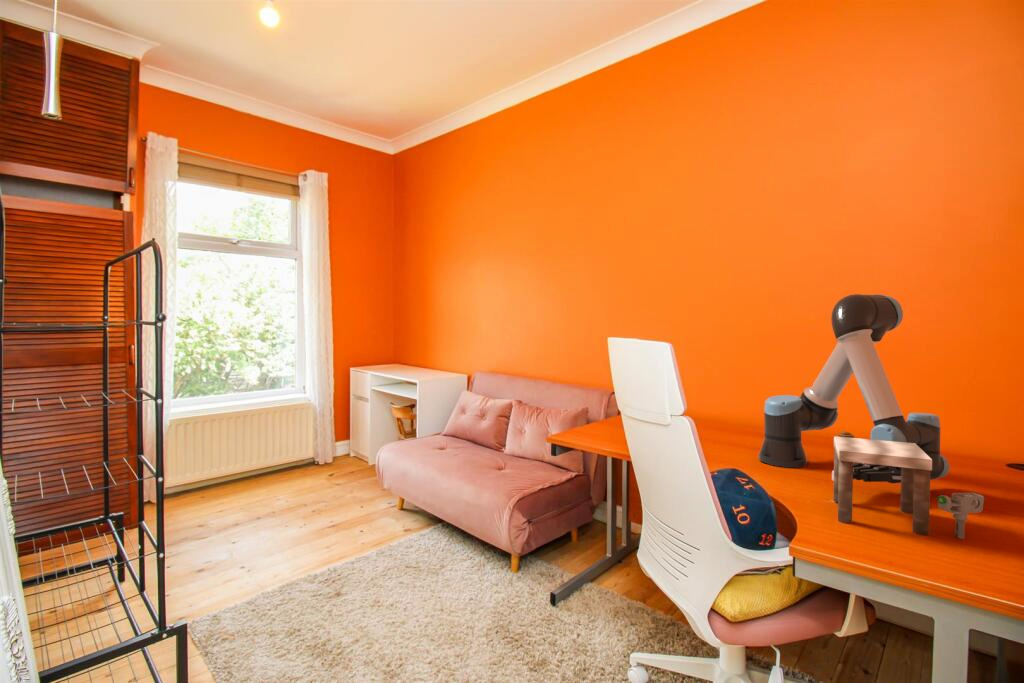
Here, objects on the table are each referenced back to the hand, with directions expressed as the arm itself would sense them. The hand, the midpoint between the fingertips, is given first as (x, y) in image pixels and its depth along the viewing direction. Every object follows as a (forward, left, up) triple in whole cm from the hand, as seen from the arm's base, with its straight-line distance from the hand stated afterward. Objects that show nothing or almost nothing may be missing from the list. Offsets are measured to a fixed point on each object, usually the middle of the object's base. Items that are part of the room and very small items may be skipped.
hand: (834, 476), depth 140 cm
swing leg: (+5, -1, -6) cm, 8 cm away
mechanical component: (+24, -16, -7) cm, 29 cm away
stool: (+9, -9, -7) cm, 14 cm away
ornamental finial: (+8, +63, -7) cm, 64 cm away
